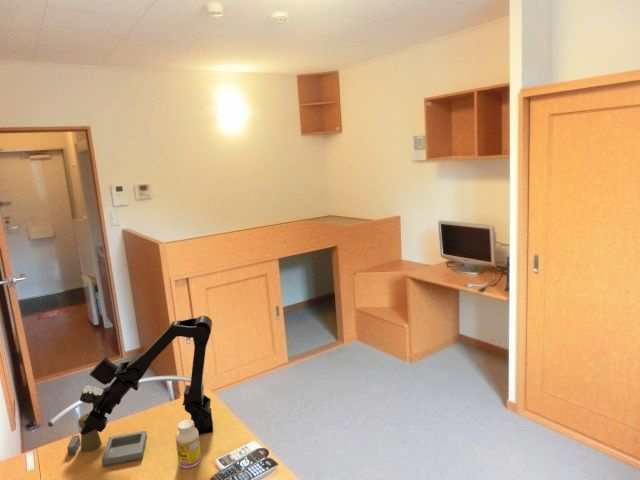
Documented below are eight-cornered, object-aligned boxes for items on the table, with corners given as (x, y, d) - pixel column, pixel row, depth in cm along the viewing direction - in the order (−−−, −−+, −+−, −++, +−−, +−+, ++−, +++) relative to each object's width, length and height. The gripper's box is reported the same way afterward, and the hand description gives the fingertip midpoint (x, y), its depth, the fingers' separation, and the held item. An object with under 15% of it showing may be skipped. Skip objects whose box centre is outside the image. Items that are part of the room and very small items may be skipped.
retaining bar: (80, 443, 146) (79, 435, 146) (75, 454, 141) (74, 446, 140) (73, 444, 146) (72, 436, 145) (68, 455, 140) (67, 447, 140)
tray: (147, 437, 148) (146, 430, 147) (142, 459, 137) (141, 452, 137) (110, 444, 145) (109, 437, 145) (102, 467, 134) (101, 459, 134)
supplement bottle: (174, 462, 135) (169, 424, 132) (193, 451, 140) (189, 414, 137) (186, 472, 130) (181, 433, 128) (205, 460, 135) (201, 422, 133)
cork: (93, 453, 141) (88, 422, 139) (76, 451, 142) (71, 420, 140) (105, 441, 147) (101, 411, 145) (89, 439, 148) (85, 409, 146)
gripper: (100, 365, 150) (69, 401, 149) (87, 393, 132) (52, 433, 132) (128, 382, 153) (98, 417, 153) (119, 412, 136) (84, 451, 135)
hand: (83, 428), depth 143 cm, fingers open, 5 cm apart
